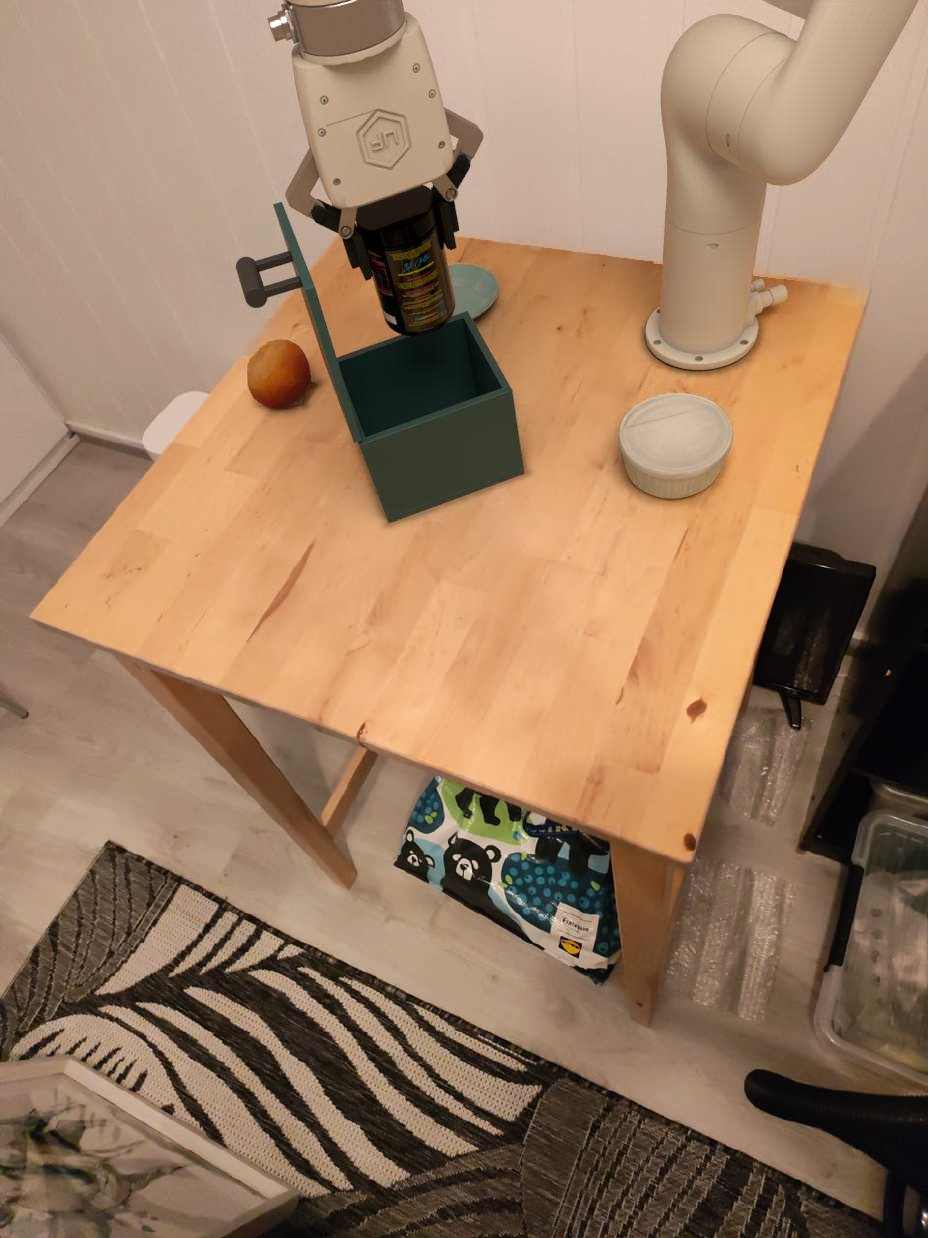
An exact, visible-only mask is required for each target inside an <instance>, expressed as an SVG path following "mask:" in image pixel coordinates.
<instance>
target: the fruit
mask: <svg viewBox="0 0 928 1238" xmlns="http://www.w3.org/2000/svg"><path fill="white" fill-rule="evenodd" d="M246 367H247V368H246V378H247V382H246V383H247V388H248V390H249V393H250V395H251V396H252V399H254V400H255V401H256V402H258V403H260V404H261V405H263V406H264V407H266V408H269V409H273V410H276V409H277V410H286V409H289V408H293V407H294V406H297V405H302V406H304V398H305V395H306V393H307V390H308V388H309V387H311V385H317V383H316V382H313V381H312V375H311V367H310V363H309V360H308V358H307V356H306V354H305V352H304V349H302V348H301V347H300V345H299V344H298V343H295V342H293V341H291V340H289V339H274V340H269V341H267V342H265V343H264V344H263V345H261V347H260V348H259V349H258V350H257V351H256V352H255V353H254V354H253V355H251V357H250V358H249V360H248V363H247V366H246Z"/></svg>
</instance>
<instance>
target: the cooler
mask: <svg viewBox="0 0 928 1238" xmlns="http://www.w3.org/2000/svg"><path fill="white" fill-rule="evenodd" d="M336 357H337V360H338V364H339V367H340V370H341V373H342V377H343V380H344V383H345V387H346V390H347V393H348V396H349V400H350V403H351V406H352V409H353V413H354V416H355V419H356V422H357V426H358V429H359V432H360V436H361V439H362V441H359V442H357V443H358V446H359V448H360V452H361V454H362V457H363V459H364V461H365V464H366V466H367V469H368V472H369V474H370V477H371V480H372V483H373V485H374V488H375V490H376V493H377V496H378V499H379V501H380V504H381V507H382V509H383V512H384V514H385V517H386V520H387V522H388V524H390V523H393V522H396V521H398V520H402V519H405V518H407V517H410V516H413V515H415V514H418V513H421V512H424V511H426V510H429V509H433V508H434V507H437V506H439V505H442V504H445V503H448V502H450V501H453V500H456V499H459V498H462V497H464V496H467V495H470V494H472V493H475V492H477V491H480V490H483V489H486V488H489V487H491V486H494V485H497V484H499V483H503V482H505V481H508V480H510V479H514V478H516V477H519V476H522V475H524V474H525V468H524V463H523V454H522V448H521V440H520V433H519V426H518V419H517V413H516V404H515V398H514V390H513V388H512V387H511V385H510V384H509V381H508V379H507V378H506V376H505V375H504V373H503V372H502V368H501V367H500V366H499V364H498V362H497V360H496V358H495V356H494V355H493V354H492V351H491V349H490V348H489V346H488V344H487V343H486V341H485V339H484V338H483V336H482V334H481V332H480V330H479V328H478V326H477V325H476V323H475V322H474V319H473V320H472V318H471V316H470V314H469V313H468V311H466V312H463V313H460V314H457V315H454V316H452V317H451V319H450V320H449V321H448V322H447V324H446V325H444V326H443V327H442V328H440V329H439V330H437V331H435V332H433V333H430V334H427V335H423V336H405V335H401V334H399V335H396V336H393V337H390V338H387V339H385V340H381V341H379V342H377V343H373V344H370V345H368V346H365V347H362V348H360V349H356V350H354V351H351V352H348V353H346V354H343V355H342V354H341V355H340V356H336Z"/></svg>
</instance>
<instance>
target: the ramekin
mask: <svg viewBox="0 0 928 1238" xmlns="http://www.w3.org/2000/svg"><path fill="white" fill-rule="evenodd" d="M617 439H618V440H617V441H618V447H619V450H620V453H621V455H622V460H623V463H624V468H625V469H624V470H625V471H626V473H627V476H628V477H629V479H630V481H631V482H632V483H633V485H634V486H636V487H637V488H638V489H639V490H640V491H642V492H644V493H646V494H648V495H651V496H652V497H656V498H661V499H668V500H669V499H670V500H672V499H673V500H677V499H683V498H688V497H691V496H694V495H697V494H698V493H701V492H703V491H704V490H705V489H708V487H710V486H711V485H712V483H713V482H714V481H715V480H716V479H717V478H718V476H719V474H720V472H721V469H722V467H723V464H724V462H725V459H726V458H727V456H728V454H729V453H730V451H731V448H732V445H733V441H734V427H733V422H732V420H731V419H730V416H729V415H728V414H727V412H726V411H725V410H724V408H723V407H721V406H720V405H718V403H716V402H714V401H713V400H711V399H709V398H706V397H704V396H700V395H698V394H692V393H687V392H667V393H662V394H657V395H654V396H651V397H648V398H646V399H643V400H641V401H639V402H638V403H636V404H635V405H633V406H632V407H631V408H630V409H629V410H627V412H626V413H625V415H624V416H623V417H622V418H621V421H620V424H619V427H618V434H617Z"/></svg>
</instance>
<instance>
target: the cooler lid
mask: <svg viewBox="0 0 928 1238" xmlns="http://www.w3.org/2000/svg"><path fill="white" fill-rule="evenodd" d="M272 205H273V209H274V212H275V215H276V218H277V221H278V224H279V228H280V231H281V233H282V237H283V240H284V242H285V246H286V249H287V250H286V251H283V252H280V253H277V254H273V255H270V256H266V257H264V258H261V259H257V260H255V259H254V258H252V257H250V256H243V257H240V258H238V260H237V261H236V263H235V270H236V275H237V277H238V281H239V283H240V287H241V290H242V294H243V298H244V301H245V303H246V304H247V305H248V306H249V307H250V308H253V309H260V308H262V307H264V306H265V305H266V303H267V302H268V299H269V298H270V297H271V298H272V297H274V296H278V295H281V294H284V293H288V292H291V291H294V290H297V289H300V293H301V295H302V298H303V302H304V304H305V309H306V311H307V314H308V317H309V320H310V323H311V325H312V326H311V327H312V330H313V332H314V335H315V338H316V341H317V344H318V348H319V351H320V354H321V357H322V360H323V363H324V365H325V369H326V371H327V374H328V376H329V379H330V382H331V384H332V387H333V390H334V393H335V396H336V398H337V401H338V404H339V407H340V409H341V412H342V414H343V416H344V419H345V422H346V426H347V428H348V430H349V433H350V436H351V440H352V442H353V443H354V444H355V443H358V442H359V441H362V439H361V436H360V432H359V429H358V426H357V422H356V419H355V416H354V413H353V409H352V406H351V403H350V400H349V396H348V393H347V390H346V387H345V383H344V380H343V377H342V373H341V370H340V367H339V364H338V360H337V357H338V356H337V354H336V351H335V348H334V344H333V342H332V337H331V334H330V331H329V328H328V324H327V320H326V318H325V315H324V312H323V309H322V305H321V301H320V299H319V296H318V292H317V289H316V286H315V283H314V281H313V278H312V276H311V273H310V271H309V267H308V265H307V263H306V260H305V258H304V257H305V256H304V254H303V253H302V250H301V247H300V245H299V242H298V240H297V237H296V233H295V232H294V229H293V226H292V224H291V221H290V219H289V217H288V214H287V212H286V209H285V206H284V204H283V202H282V201H279V202H275V203H273V204H272ZM287 264H292V268H293V270H294V273H295V276H293V277H289V278H286V279H284V280H283V279H282V280H280V281H276V282H274V283H270V284H267V285H264V282H263V279H262V275H261V273H260V272H264V271H266V270H270V269H273V268H276V267H280V266H283V265H287Z"/></svg>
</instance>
